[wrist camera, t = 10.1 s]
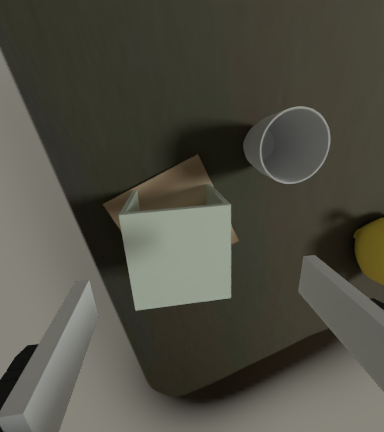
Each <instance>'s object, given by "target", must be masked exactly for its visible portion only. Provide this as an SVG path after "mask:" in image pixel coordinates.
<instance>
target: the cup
mask: <svg viewBox="0 0 384 432" xmlns="http://www.w3.org/2000/svg"><path fill="white" fill-rule="evenodd" d="M329 147H330V132H329V128H328V125H327V123H326V121H325V119H324V118H323V117H322V115H321V114H320V113H318V112H317V111H315V110H314V109H311V108H308V107H301V106H300V107H293V108H289V109H286V110H284V111H281V112H278V113H275V114H273V115H270V116H268V117H266V118H265V119H263V120H262V121H260V122H259V123H257V124H256V125H254V126H253V127H252V128H251V129H250V130H249V132H248V133H247V135H246V137H245V139H244V143H243V150H244V153H245V156H246V158H247V160H248V161H249V163H250V164H251V165H253V166H254V167H255V168H256V169H257V170H258V171H259V172H261V173H262V174H264V175H266V176H268V177H270V178H272V179H274V180H276V181H278V182H281V183H285V184H294V183H298V182H301V181H304V180H306V179H308V178H309V177H311V176H312V175H313V174H314V173H316V172H317V171H318V169H319V168H320V167H321V166H322V164H323V163H324V161H325V159H326V157H327V154H328V151H329Z"/></svg>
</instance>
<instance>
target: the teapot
mask: <svg viewBox="0 0 384 432" xmlns="http://www.w3.org/2000/svg"><path fill="white" fill-rule="evenodd" d="M354 238H355V256H356V259H357V262H358V264H359V266H360V268H361V270H362V272H363V273H364V274H365V275H366V276H367V277H369V278H370V279H372V280H374V281H376V282H378V283H380V284H382V285H384V217H382V218H380V219H377V220H375V221H373V222H371V223H368V224H366V225H365V226H363V227H362V228H360V229H358V230H356V231H355V233H354Z"/></svg>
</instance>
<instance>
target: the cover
mask: <svg viewBox="0 0 384 432" xmlns="http://www.w3.org/2000/svg"><path fill="white" fill-rule="evenodd" d="M206 199H207V205H202V206H191V207H180V208H169V209H158V210H147V211H140V207H139V200H138V193H137V190H133V191H132V193H131V194H130V196H129V198H128V200H127V201H126V203H125V205H124V207H123V208H122V210H121V212H120V214H119V221H120V226H121V232H122V237H123V243H124V249H125V254H126V260H127V265H128V271H129V276H130V282H131V288H132V293H133V299H134V304H135V310H143V309H151V308H159V307H166V306H174V305H181V304H189V303H196V302H204V301H211V300H219V299H226V298H231V204H230V203H229V202H228V201H227V200H226V199H225V198H224V197H223V196H222V195H221V194H220V193H219V192H218V191H217V190H216V189H215V188H214V187H213V186H212V185H211V184H206Z"/></svg>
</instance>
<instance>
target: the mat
mask: <svg viewBox="0 0 384 432" xmlns="http://www.w3.org/2000/svg"><path fill="white" fill-rule="evenodd" d="M206 184H211V185H212V183H211V181H210V179H209V176H208V174H207V172H206V170H205V168H204V166H203V164H202V161H201V159H200V157H199V155H198V154H197V155H195V156H193V157H191V158H189V159H187V160H185V161H183V162H182V163H180V164H178V165H176V166H174V167H172V168H170V169H168V170H166V171H164V172H163V173H161V174H159V175H157V176H155V177H153V178H151V179H149V180H147V181H145V182H143V183H142V184H140V185H138V186H136V187H134V188H132V189H130V190H128V191H126V192H124V193H123V194H121V195H119V196H117V197H115V198H113V199H111V200H109V201H107V202H105V203H104V204H103V206H104V207H105V209H106V210H107V211H108V213H109V214H110V216H111V217H112V219H113V220H114V222H115V223H116V225H117V226H118V228H119V229H120V231H121V226H120V221H119V214H120V212H121V210H122V208H123V207H124V205H125V203H126V201H127V200H128V198H129V196H130V194H131V193H132V191H133V190H137V193H138V200H139V207H140V211H147V210H158V209H169V208H180V207H191V206H202V205H207V199H206ZM212 186H213V185H212ZM238 241H239V240H238V238H237V236H236V234H235V232H234V230H233V228H232V225H231V245H232V244H234V243H236V242H238Z"/></svg>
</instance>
